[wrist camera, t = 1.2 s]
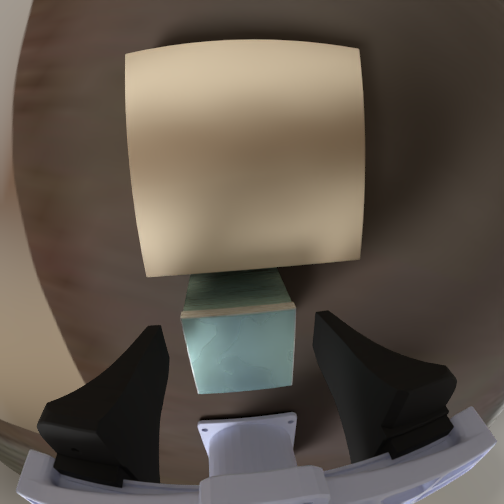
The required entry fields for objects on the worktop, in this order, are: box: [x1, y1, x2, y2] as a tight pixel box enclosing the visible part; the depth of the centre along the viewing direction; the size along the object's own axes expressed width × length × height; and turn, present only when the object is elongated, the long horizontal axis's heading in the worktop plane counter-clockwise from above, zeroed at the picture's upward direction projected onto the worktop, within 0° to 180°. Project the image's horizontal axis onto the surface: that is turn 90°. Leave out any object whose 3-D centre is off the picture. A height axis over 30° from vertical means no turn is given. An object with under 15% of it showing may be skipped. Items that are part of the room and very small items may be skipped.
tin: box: [180, 267, 296, 394], centre depth 14 cm, size 4×4×5 cm
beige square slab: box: [125, 39, 365, 277], centre depth 12 cm, size 10×10×3 cm
